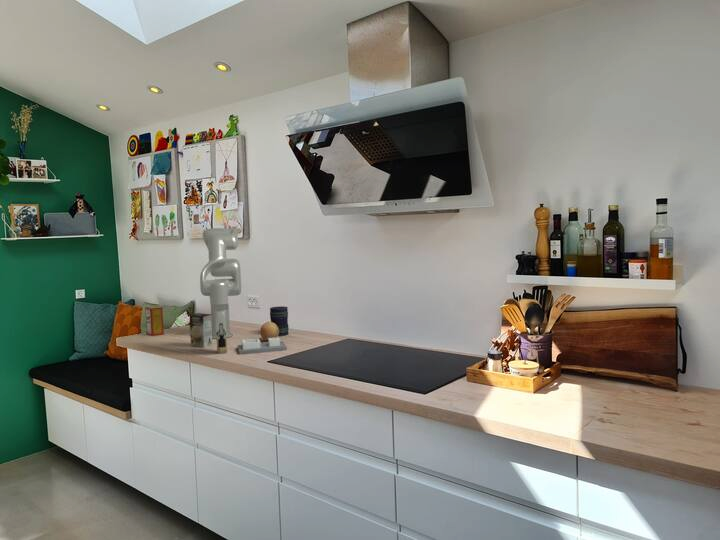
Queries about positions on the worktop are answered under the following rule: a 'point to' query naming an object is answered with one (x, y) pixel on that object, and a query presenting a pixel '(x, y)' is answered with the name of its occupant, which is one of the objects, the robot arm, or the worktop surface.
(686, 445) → the worktop surface
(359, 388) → the worktop surface
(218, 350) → the brass stub
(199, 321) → the coffee box
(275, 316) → the storage jar
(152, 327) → the baking soda box
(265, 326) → the onion
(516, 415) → the worktop surface
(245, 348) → the manifold plate
